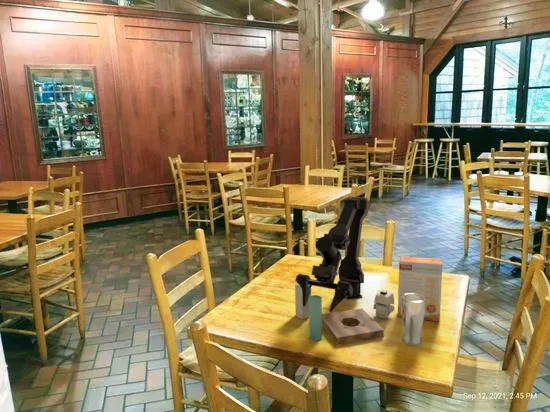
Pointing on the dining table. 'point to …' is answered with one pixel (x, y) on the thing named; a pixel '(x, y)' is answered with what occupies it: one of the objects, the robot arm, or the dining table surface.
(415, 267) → the cracker box
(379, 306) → the white blocky figure
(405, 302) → the beer glass
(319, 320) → the round dowel
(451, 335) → the dining table surface
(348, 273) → the robot arm
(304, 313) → the square dowel
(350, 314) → the socket board
